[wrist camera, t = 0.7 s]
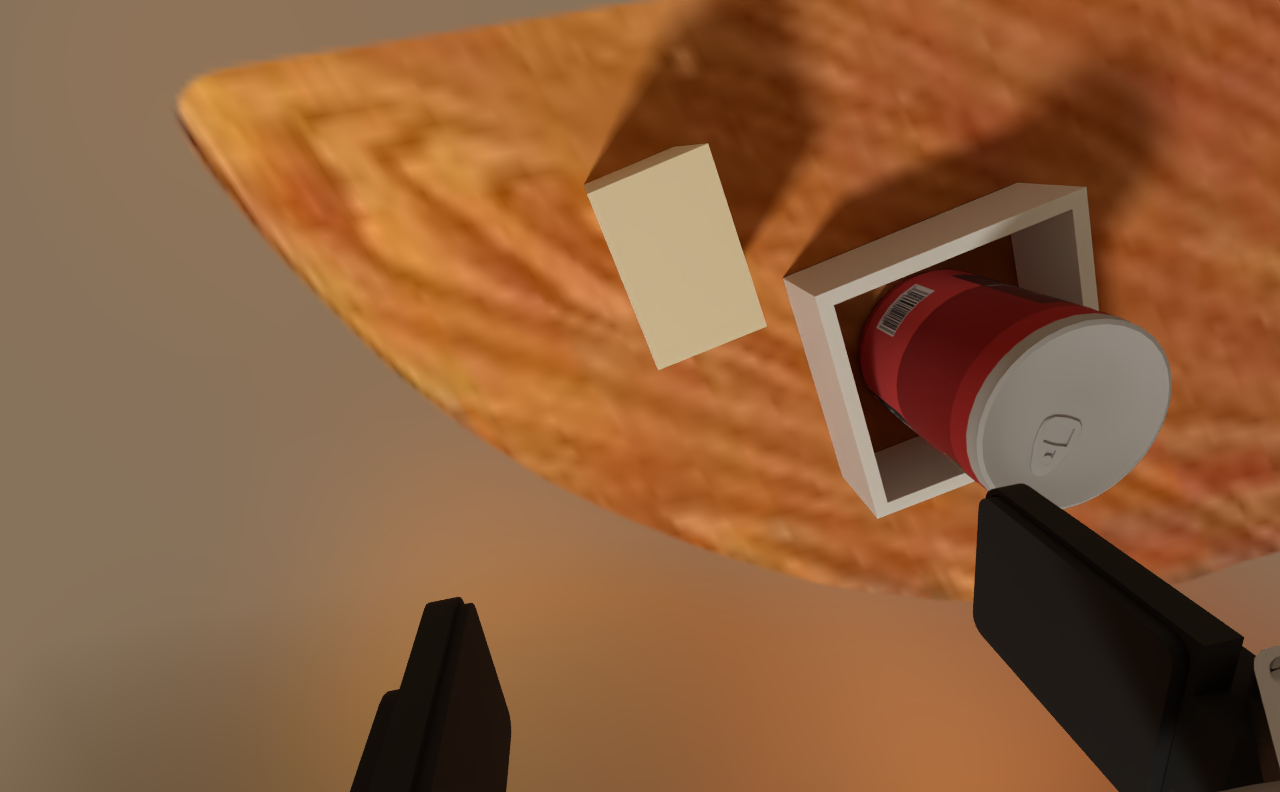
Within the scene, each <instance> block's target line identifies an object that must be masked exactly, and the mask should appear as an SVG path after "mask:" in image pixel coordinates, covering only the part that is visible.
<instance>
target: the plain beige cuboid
mask: <svg viewBox="0 0 1280 792" xmlns="http://www.w3.org/2000/svg"><path fill="white" fill-rule="evenodd" d="M584 187H585V190H586V192H587V195H588V198H589V200H590V203H591V205H592V207H593V210H594V212H595V215H596V217H597V220H598V222H599V225H600V227H601V230H602V232H603V235H604V237H605V240H606V242H607V245H608V247H609V250H610V252H611V255H612V257H613V259H614V262H615V264H616V267H617V269H618V272H619V274H620V277H621V279H622V282H623V284H624V287H625V289H626V292H627V294H628V297H629V299H630V302H631V304H632V307H633V309H634V311H635V314H636V316H637V319H638V321H639V324H640V326H641V329H642V331H643V334H644V336H645V339H646V341H647V344H648V346H649V349H650V351H651V354H652V356H653V359H654V361H655V363H656V366H657V368H658V370H660V369H662V368H665V367H667V366H670V365H672V364H675V363H677V362H680V361H682V360H685V359H687V358H690V357H692V356H695V355H697V354H700V353H702V352H705V351H707V350H709V349H712V348H714V347H717V346H719V345H722V344H724V343H727V342H729V341H732V340H734V339H737V338H739V337H742V336H744V335H747V334H749V333H752V332H754V331H756V330H759V329H761V328H764V327H766V326H767V325H766V322H765V319H764V316H763V313H762V310H761V307H760V303H759V300H758V297H757V294H756V291H755V288H754V285H753V282H752V279H751V275H750V272H749V269H748V266H747V263H746V260H745V257H744V254H743V250H742V247H741V244H740V241H739V238H738V235H737V232H736V229H735V226H734V222H733V219H732V216H731V213H730V210H729V207H728V204H727V201H726V197H725V194H724V191H723V188H722V185H721V182H720V179H719V176H718V173H717V169H716V166H715V163H714V160H713V157H712V154H711V151H710V148H709V145H708V143H706V144H696V145H686V146H676V147H672V148H669V149H667V150H665V151H662V152H660V153H658V154H655V155H653V156H650V157H648V158H646V159H643V160H641V161H639V162H636V163H634V164H631V165H629V166H627V167H624V168H622V169H620V170H617V171H615V172H612V173H610V174H608V175H605V176H603V177H601V178H598V179H596V180H593V181H591V182H589V183H586V184H584Z"/></svg>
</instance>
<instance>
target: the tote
mask: <svg viewBox="0 0 1280 792" xmlns="http://www.w3.org/2000/svg"><path fill="white" fill-rule="evenodd" d="M1009 234H1011V240H1012V246H1013V253H1014V260H1015V266H1016V273H1017V279H1018V286H1019V287H1020V288H1023V289H1027V290H1030V291H1034V292H1037V293H1041V294H1044V295H1048V296H1051V297H1054V298H1058V299H1061V300H1065V301H1068V302H1072V303H1075V304H1079V305H1082V306H1086V307H1089V308H1092V309H1095V310H1097V311H1099V306H1098V296H1097V286H1096V277H1095V267H1094V257H1093V247H1092V237H1091V227H1090V217H1089V207H1088V197H1087V187H1080V186H1064V185H1047V184H1031V183H1015V184H1013V185H1010V186H1008V187H1005V188H1003V189H1000V190H998V191H996V192H993V193H991V194H988V195H986V196H983V197H981V198H978V199H976V200H973V201H971V202H969V203H966V204H964V205H961V206H959V207H956V208H954V209H951V210H949V211H946V212H944V213H941V214H939V215H937V216H934V217H932V218H929V219H927V220H924V221H922V222H919V223H917V224H914V225H912V226H910V227H907V228H905V229H902V230H900V231H897V232H895V233H892V234H890V235H887V236H885V237H883V238H880V239H878V240H875V241H873V242H870V243H868V244H865V245H863V246H860V247H858V248H856V249H853V250H851V251H848V252H846V253H843V254H841V255H838V256H836V257H833V258H831V259H828V260H826V261H824V262H821V263H819V264H816V265H814V266H811V267H809V268H806V269H804V270H801V271H799V272H797V273H794V274H792V275H789V276H787V277H784V278H783V280H784V284H785V287H786V290H787V294H788V297H789V300H790V304H791V307H792V310H793V314H794V317H795V320H796V324H797V327H798V330H799V334H800V337H801V340H802V344H803V347H804V350H805V354H806V357H807V360H808V363H809V367H810V370H811V373H812V377H813V380H814V383H815V387H816V390H817V393H818V397H819V400H820V403H821V407H822V410H823V413H824V417H825V420H826V423H827V427H828V430H829V433H830V437H831V440H832V443H833V447H834V450H835V453H836V457H837V460H838V463H839V467H840V470H841V473H842V477H843V478H844V479H845V480H846V481H847V483H848V484H849V485H850V486H851V487H852V489H853V490H854V491H855V492H856V493H857V495H858V496H859V497H860V498H861V499H862V501H863V502H864V503H865V504H866V505H867V506H868V508H869V509H870V510H871V511H872V512H873V514H874V515H875V516H876V517H877V518H881V517H883V516H886V515H888V514H891V513H894V512H896V511H899V510H901V509H904V508H907V507H909V506H912V505H914V504H917V503H920V502H922V501H925V500H927V499H930V498H933V497H935V496H938V495H940V494H943V493H946V492H948V491H951V490H953V489H956V488H959V487H961V486H964V485H966V484H969V483H972V482H974V480H973V479H972V478H971V477H969V476H968V475H967V474H966V473H964V472H963V471H962V470H961V469H960V468H958V467H957V466H956V465H955V464H953V463H952V462H951V461H950V460H949V459H947V458H946V457H945V456H944V455H943V454H941V453H940V452H939V451H938V450H936V449H935V448H934V447H933V446H932V445H930V444H929V443H928V442H927V441H926V440H924V439H923V438H922V437H921V436H917V437H914V438H912V439H909V440H907V441H904V442H902V443H899V444H897V445H894V446H891V447H889V448H886V449H884V450H881V451H879V452H876V453H874V451H873V447H872V444H871V440H870V436H869V433H868V429H867V425H866V422H865V418H864V414H863V411H862V407H861V403H860V400H859V396H858V392H857V389H856V385H855V381H854V378H853V374H852V370H851V367H850V363H849V359H848V356H847V352H846V348H845V345H844V341H843V337H842V334H841V330H840V326H839V323H838V319H837V315H836V312H835V308H834V305H836V304H838V303H841V302H843V301H846V300H848V299H850V298H853V297H855V296H858V295H860V294H863V293H865V292H868V291H870V290H873V289H875V288H878V287H880V286H883V285H885V284H888V283H890V282H893V281H895V280H898V279H900V278H903V277H905V276H908V275H910V274H912V273H915V272H917V271H920V270H922V269H925V268H927V267H930V266H932V265H935V264H937V263H940V262H942V261H945V260H947V259H950V258H952V257H955V256H957V255H960V254H962V253H965V252H967V251H969V250H972V249H974V248H977V247H979V246H982V245H984V244H987V243H989V242H992V241H994V240H997V239H999V238H1002V237H1004V236H1007V235H1009Z"/></svg>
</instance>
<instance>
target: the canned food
mask: <svg viewBox="0 0 1280 792" xmlns="http://www.w3.org/2000/svg"><path fill="white" fill-rule="evenodd" d="M859 361H860V368H861V371H862V374H863V377H864V380H865V382H866V385H867V387H868V389H869V390H870V392H871V393H872V395H873V396H874V397H875V398H876V399H877V400H878V401H879V402H880V403H881V404H882V405H883V406H884V407H885V408H887V409H888V410H889V411H890V412H891V413H893V414H894V415H895V416H896V417H898V418H899V419H900V420H901V421H902V422H904V423H905V424H906V425H907V426H908V427H910V428H911V429H912V430H913V431H915V432H916V433H917V434H918V435H919V436H921V437H922V438H923V439H924V440H926V441H927V442H928V443H929V444H930V445H932V446H933V447H934V448H935V449H936V450H938V451H939V452H940V453H941V454H943V455H944V456H945V457H946V458H947V459H949V460H950V461H951V462H952V463H953V464H955V465H956V466H957V467H958V468H960V469H961V470H962V471H963V472H964V473H966V474H967V475H968V476H969V477H971V478H972V479H973V480H974V481H976V482H978V483H979V484H980V485H981V486H982V487H984V488H985V489H986V490H987V491H989V490H991V489H994V488H999V487H1004V486H1009V485H1014V484H1019V483H1023V484H1026V485H1028V486H1030V487H1031V488H1033V489H1034V490H1035V491H1037V492H1038V493H1040V494H1041V495H1043V496H1044V497H1045V498H1047V499H1048V500H1050V501H1051V502H1053V503H1054V504H1055V505H1057V506H1058V507H1060V508H1061V509H1065V508H1069V507H1072V506H1076V505H1079V504H1082V503H1084V502H1086V501H1088V500H1090V499H1092V498H1094V497H1097V496H1098V495H1100V494H1102V493H1103V492H1105V491H1106V490H1108V489H1109V488H1111V487H1112V486H1114V485H1115V484H1116V483H1118V482H1119V481H1120V480H1121V479H1122V478H1123V477H1125V476H1126V475H1127V474H1128V473H1129V472H1130V471H1131V470H1132V469H1133V468H1134V467H1135V466H1136V465H1137V464H1138V462H1139V461H1140V460H1141V459H1142V458H1143V457H1144V456H1145V454H1146V453H1147V451H1148V450H1149V448H1150V447H1151V445H1152V444H1153V442H1154V441H1155V439H1156V437H1157V435H1158V433H1159V431H1160V429H1161V427H1162V425H1163V423H1164V420H1165V417H1166V414H1167V410H1168V407H1169V403H1170V397H1171V386H1172V380H1171V372H1170V365H1169V362H1168V360H1167V357H1166V354H1165V352H1164V350H1163V348H1162V347H1161V346H1160V344H1159V343H1158V341H1157V340H1156V339H1155V337H1154V336H1152V335H1151V334H1150V333H1148V332H1147V331H1146V330H1144V329H1143V328H1142V327H1140V326H1137V325H1135V324H1132V323H1131V322H1129V321H1127V320H1124V319H1122V318H1119V317H1116V316H1114V315H1111V314H1107V313H1104V312H1101V311H1097V310H1095V309H1092V308H1089V307H1086V306H1082V305H1079V304H1075V303H1072V302H1068V301H1065V300H1061V299H1058V298H1054V297H1051V296H1048V295H1044V294H1041V293H1037V292H1034V291H1030V290H1027V289H1023V288H1020V287H1016V286H1013V285H1009V284H1006V283H1002V282H999V281H995V280H992V279H988V278H985V277H981V276H978V275H974V274H971V273H968V272H964V271H958V270H951V269H946V270H935V271H931V272H926V273H923V274H919V275H916V276H913V277H911V278H909V279H907V280H905V281H903V282H901V283H899V284H898V285H897V286H895V287H894V288H893V289H891V290H890V291H889V292H888V293H887V294H886V295H885V296H884V297H883V298H882V299H881V300H880V301H879V302H878V303H877V305H876V306H875V308H874V309H873V311H872V312H871V314H870V315H869V317H868V319H867V322H866V324H865V326H864V328H863V332H862V335H861V339H860V346H859Z"/></svg>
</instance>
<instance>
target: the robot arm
mask: <svg viewBox="0 0 1280 792" xmlns="http://www.w3.org/2000/svg"><path fill="white" fill-rule="evenodd" d="M973 618H974V622H975V624H976V627H977V629H978V631H979V632H980V634H981V635H982V636H983V637H984V639H985V640H986V641H987V642H988V643H989V644H990V645H991V646H992V648H993V649H994V650H995V651H996V652H997V653H998V654H999V656H1000V657H1001V658H1002V659H1003V660H1004V661H1005V662H1006V664H1007V665H1008V666H1009V667H1010V668H1011V669H1012V670H1013V672H1014V673H1015V674H1016V675H1017V676H1018V677H1019V678H1020V680H1021V681H1022V682H1023V683H1024V684H1025V685H1026V686H1027V688H1028V689H1029V690H1030V691H1031V692H1032V693H1033V694H1034V695H1035V697H1036V698H1037V699H1038V700H1039V701H1040V702H1041V703H1042V705H1043V706H1044V707H1045V708H1046V709H1047V710H1048V711H1049V712H1050V714H1051V715H1052V716H1053V717H1054V718H1055V719H1056V721H1057V722H1058V723H1059V724H1060V725H1061V726H1062V727H1063V729H1064V730H1065V731H1066V732H1067V733H1068V734H1069V735H1070V736H1071V738H1072V739H1073V740H1074V741H1075V742H1076V743H1077V744H1078V746H1079V747H1080V748H1081V749H1082V750H1083V751H1084V752H1085V754H1086V755H1087V756H1088V757H1089V758H1090V759H1091V760H1092V762H1094V764H1095V765H1096V766H1097V767H1098V768H1099V770H1100V771H1101V772H1102V773H1103V774H1104V775H1105V776H1106V777H1107V778H1108V780H1109V781H1110V782H1111V783H1112V784H1113V785H1114V787H1115V788H1116V789H1117V790H1118V791H1119V792H1280V646H1274V647H1271V648H1268V649H1264V650H1262V651H1261V652H1260V653H1259V654H1258V655H1257V656H1255V655H1254V654H1253V653H1251V652H1250V651H1248V650H1247V649H1246V648H1244V647H1243V646H1242V644H1243V640H1244V637H1243V636H1242V635H1240V634H1239V633H1237V632H1236V631H1234V630H1233V629H1232V628H1230V627H1229V626H1227V625H1226V624H1224V623H1223V622H1222V621H1220V620H1219V619H1217V618H1216V617H1215V616H1213V615H1212V614H1210V613H1209V612H1207V611H1206V610H1205V609H1203V608H1202V607H1200V606H1199V605H1198V604H1196V603H1195V602H1193V601H1192V600H1190V599H1189V598H1188V597H1186V596H1185V595H1183V594H1182V593H1180V592H1179V591H1178V590H1176V589H1175V588H1173V587H1172V586H1171V585H1169V584H1168V583H1166V582H1165V581H1163V580H1162V579H1161V578H1159V577H1158V576H1156V575H1155V574H1153V573H1152V572H1151V571H1149V570H1148V569H1146V568H1145V567H1144V566H1142V565H1141V564H1139V563H1138V562H1136V561H1135V560H1134V559H1132V558H1131V557H1129V556H1128V555H1126V554H1125V553H1124V552H1122V551H1121V550H1119V549H1118V548H1117V547H1115V546H1114V545H1112V544H1111V543H1109V542H1108V541H1107V540H1105V539H1104V538H1102V537H1101V536H1099V535H1098V534H1097V533H1095V532H1094V531H1092V530H1091V529H1089V528H1088V527H1087V526H1085V525H1084V524H1082V523H1081V522H1080V521H1078V520H1077V519H1075V518H1074V517H1072V516H1071V515H1070V514H1068V513H1067V512H1065V511H1064V510H1062V509H1061V508H1060V507H1058V506H1057V505H1055V504H1054V503H1053V502H1051V501H1050V500H1048V499H1047V498H1045V497H1044V496H1043V495H1041V494H1040V493H1038V492H1037V491H1035V490H1034V489H1033V488H1031V487H1030V486H1028V485H1026V484H1023V483H1019V484H1014V485H1009V486H1004V487H999V488H994V489H991V490H989V491H988V493H987V494H986V498H985V499H982V500H981V501H980V503H979V512H978V530H977V548H976V567H975V585H974V603H973ZM510 741H511V721H510V715H509V711H508V708H507V705H506V702H505V698H504V695H503V692H502V689H501V686H500V683H499V680H498V677H497V673H496V670H495V667H494V664H493V661H492V658H491V654H490V651H489V648H488V645H487V642H486V639H485V636H484V632H483V629H482V626H481V623H480V620H479V617H478V614H477V611H476V608H475V605H474V604H473V603H468V604H464V602H463V600H462V598H461V597H455V598H450V599H445V600H440V601H435V602H430V603H428V604H426V606H425V608H424V611H423V615H422V618H421V621H420V625H419V628H418V631H417V634H416V638H415V641H414V644H413V647H412V651H411V654H410V657H409V660H408V663H407V667H406V670H405V673H404V676H403V680H402V683H401V686H400V689H398V690H393V691H388V692H387V693H386V694H385V695H384V696H383V697H382V700H381V702H380V704H379V707H378V710H377V713H376V716H375V719H374V722H373V725H372V728H371V730H370V733H369V736H368V739H367V742H366V745H365V749H364V751H363V754H362V757H361V760H360V763H359V766H358V769H357V772H356V775H355V778H354V781H353V784H352V787H351V790H350V792H506V786H507V776H508V765H509V764H508V763H509V753H510Z"/></svg>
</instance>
